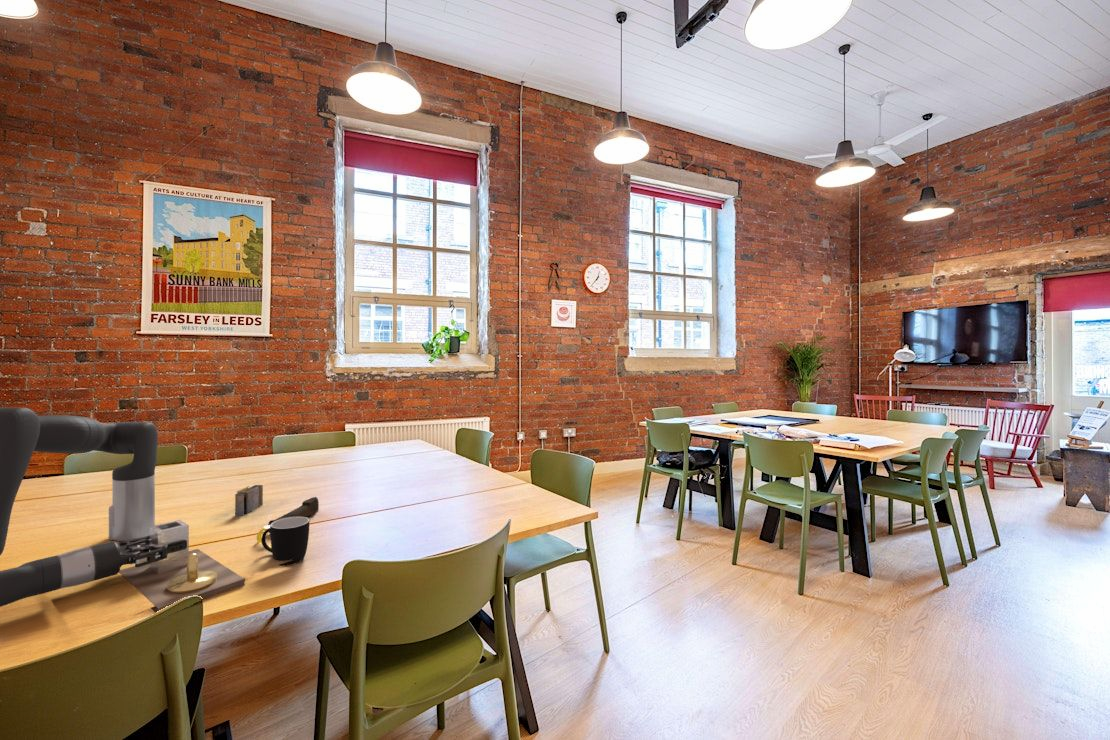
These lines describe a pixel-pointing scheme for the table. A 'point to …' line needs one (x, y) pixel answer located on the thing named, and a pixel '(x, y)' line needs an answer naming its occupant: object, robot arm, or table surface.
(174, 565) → the open-top grey box
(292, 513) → the hand tool
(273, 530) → the mug
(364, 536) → the table surface
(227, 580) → the walnut stand board
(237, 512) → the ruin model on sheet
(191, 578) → the disc
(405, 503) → the table surface
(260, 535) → the watch
